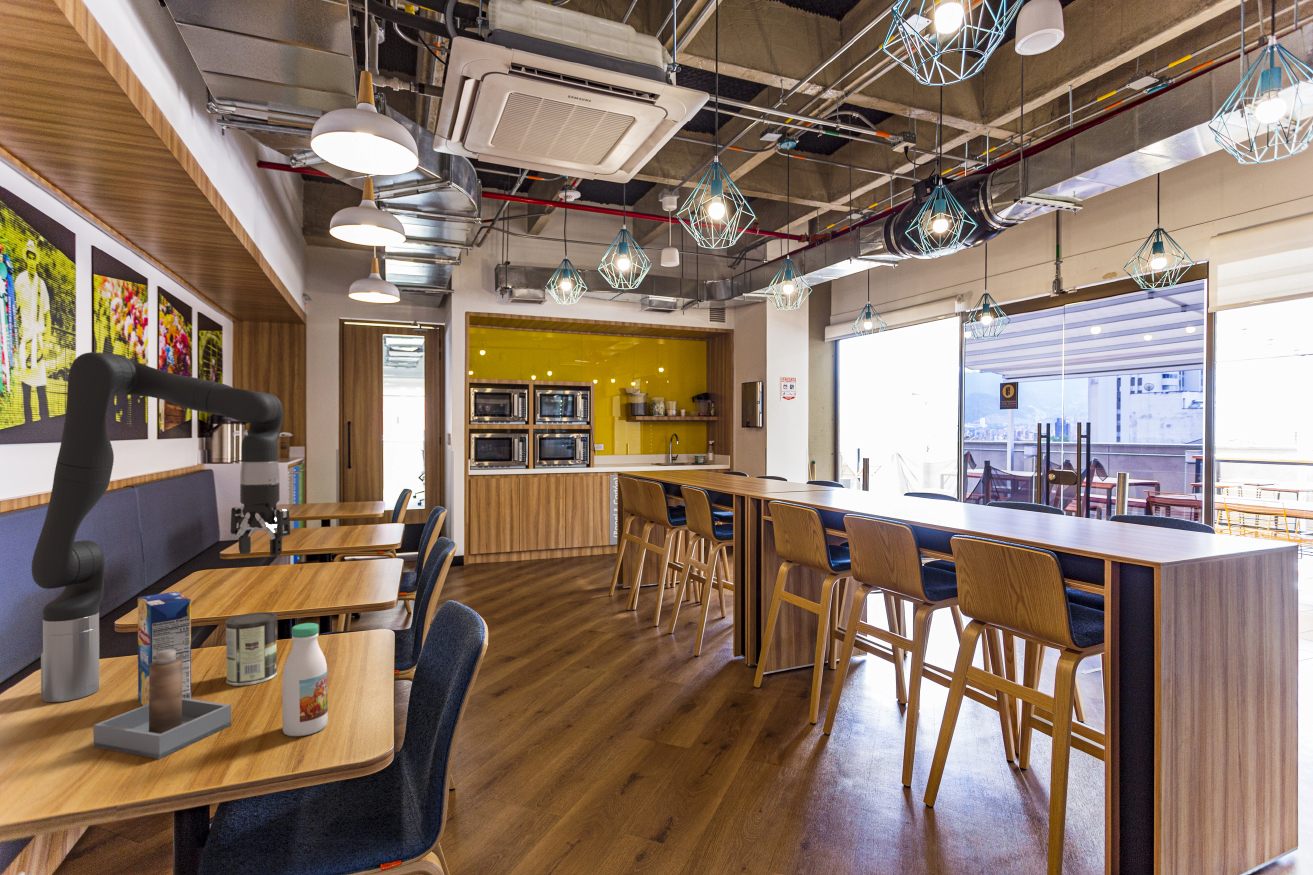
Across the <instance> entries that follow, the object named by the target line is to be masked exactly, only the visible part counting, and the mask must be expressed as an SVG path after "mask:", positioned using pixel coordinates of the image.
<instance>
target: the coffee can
mask: <svg viewBox="0 0 1313 875" xmlns="http://www.w3.org/2000/svg"><path fill="white" fill-rule="evenodd" d="M277 618H278V614H277V613H275V612H269V611H268V612H267V611H264V612H263V611H260V612H259V611H258V612H250V613H244V614H243V613H242V614H239V615H235V616H232V617H229V618H228V619H226V620H225V626H226V627H225V638H226V639H225V642H226V643H225V644H226V649H225V650H226V652H225V653H226V660H225V661H226V681H225V683H226V684H227V685H230V686H235V687H238V686H239V687H240V686H241V687H244V686H245V687H246V686H253V685H257V684H261V683H264V682H267V681H270V680H272V679H273V678H275V677H276V676H277V675H278V671H277V670H278V668H277V666H278V665H277V664H278V663H277V659H278V658H277Z"/></svg>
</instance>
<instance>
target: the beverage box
mask: <svg viewBox="0 0 1313 875" xmlns="http://www.w3.org/2000/svg"><path fill="white" fill-rule="evenodd" d="M191 603H192V600H191V598H188V597H187V596H185V595H183V594H182V593H180V592H178V591H171V592H164V593H157V594H151V595H145V596H138V597H137V679H138V680H137V685H138V686H137V697H138V698H137V700H138V701H139V703H141V705H142V706H144V705H147V704H149V665H150V664H151V663H152V662H155V661H156V653H157V652H159V651H162V650H168V649H175V650H176V658H181V659H182V698H188V699H192V666H191V665H192V659H191V658H192V649H191V648H192V637H191V636H192V612H191V610H192V604H191Z"/></svg>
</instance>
